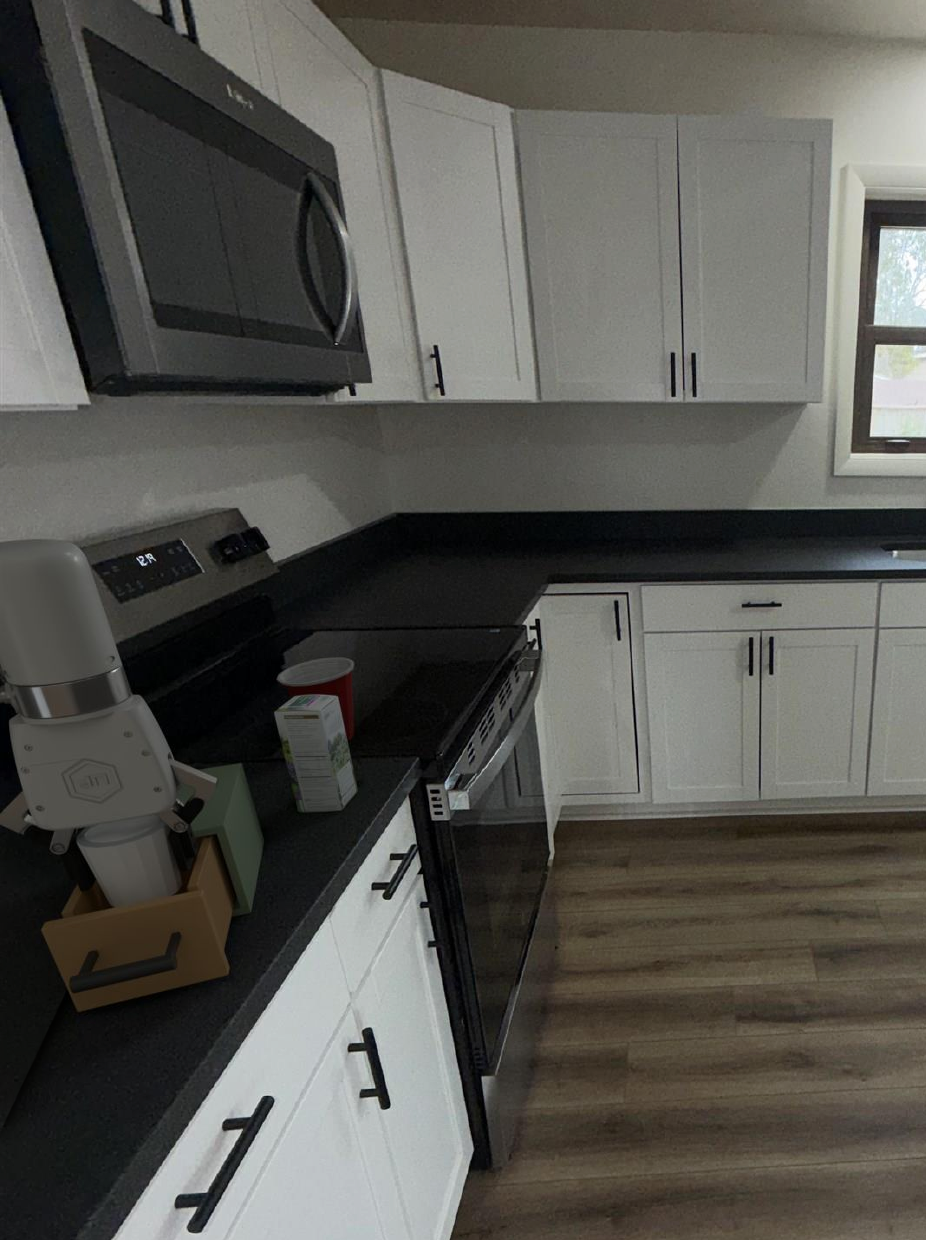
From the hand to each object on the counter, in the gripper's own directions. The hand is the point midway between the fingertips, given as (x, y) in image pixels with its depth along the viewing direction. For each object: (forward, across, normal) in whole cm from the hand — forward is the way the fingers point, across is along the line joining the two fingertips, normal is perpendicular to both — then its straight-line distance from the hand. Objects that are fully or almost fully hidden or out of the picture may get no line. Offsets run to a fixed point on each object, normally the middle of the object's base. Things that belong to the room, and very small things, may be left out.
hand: (139, 872), depth 74 cm
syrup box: (+10, +14, +29) cm, 34 cm away
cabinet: (+10, 0, +13) cm, 16 cm away
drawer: (+9, 0, -2) cm, 9 cm away
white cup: (+2, 0, 0) cm, 2 cm away
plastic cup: (+10, +14, +53) cm, 56 cm away
